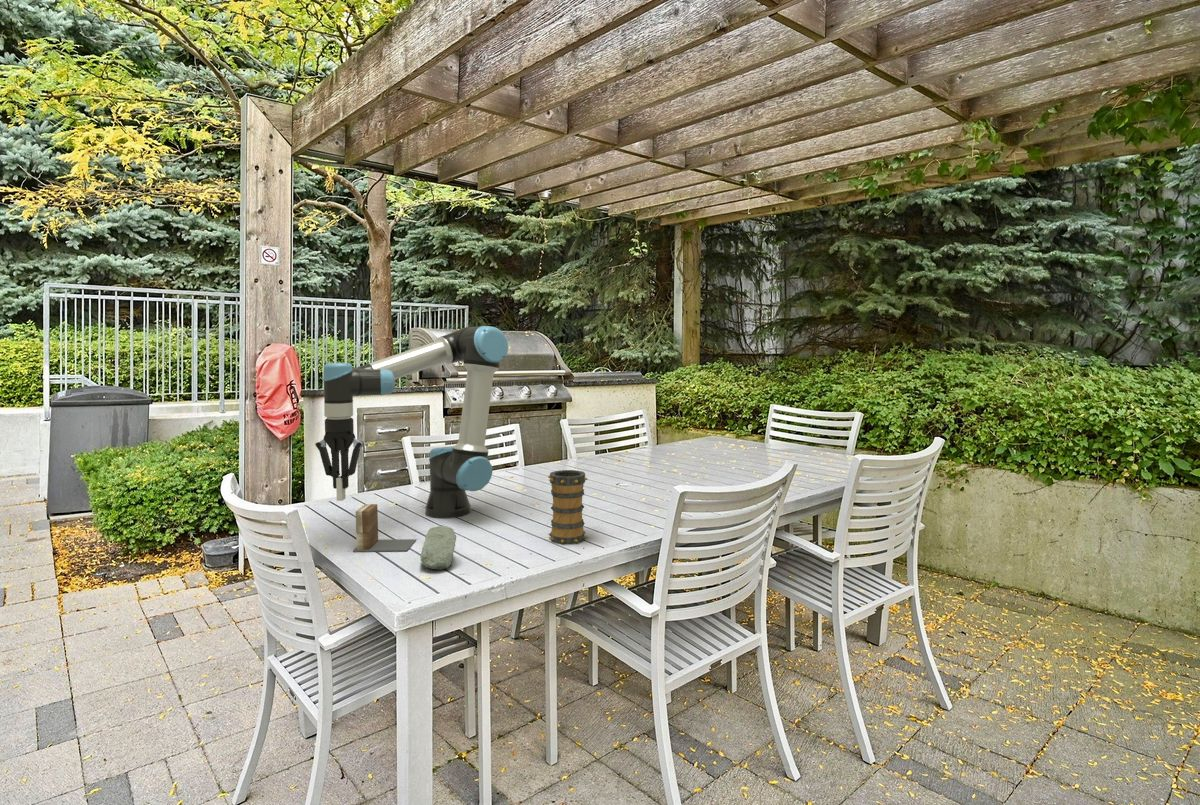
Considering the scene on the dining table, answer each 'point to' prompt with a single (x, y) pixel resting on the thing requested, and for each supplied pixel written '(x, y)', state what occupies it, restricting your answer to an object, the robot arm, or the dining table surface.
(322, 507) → the dining table surface
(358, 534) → the slab
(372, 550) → the mat
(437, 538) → the decorative stone
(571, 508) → the mug
